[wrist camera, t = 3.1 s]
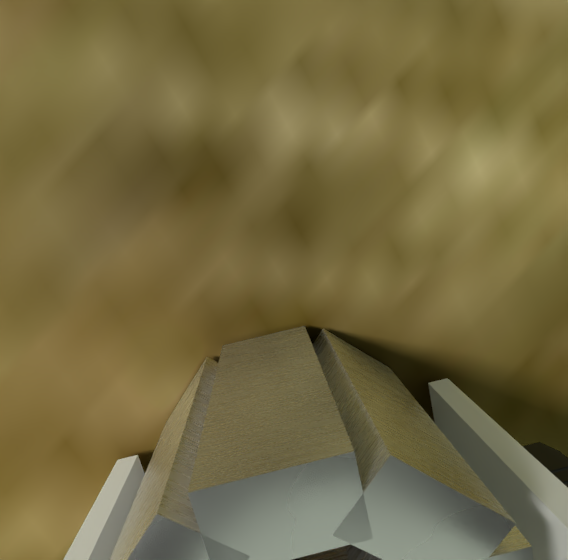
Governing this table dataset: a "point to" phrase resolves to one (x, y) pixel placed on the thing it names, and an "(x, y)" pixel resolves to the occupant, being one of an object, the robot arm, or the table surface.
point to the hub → (309, 467)
